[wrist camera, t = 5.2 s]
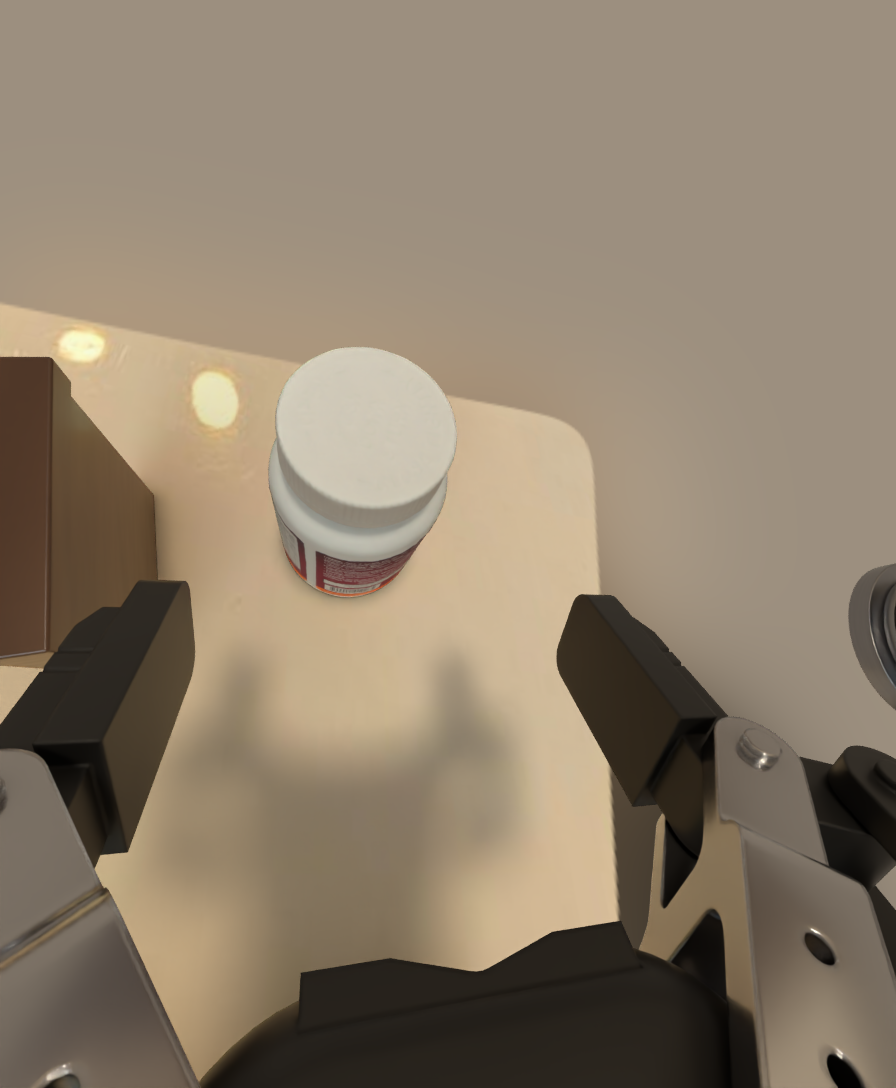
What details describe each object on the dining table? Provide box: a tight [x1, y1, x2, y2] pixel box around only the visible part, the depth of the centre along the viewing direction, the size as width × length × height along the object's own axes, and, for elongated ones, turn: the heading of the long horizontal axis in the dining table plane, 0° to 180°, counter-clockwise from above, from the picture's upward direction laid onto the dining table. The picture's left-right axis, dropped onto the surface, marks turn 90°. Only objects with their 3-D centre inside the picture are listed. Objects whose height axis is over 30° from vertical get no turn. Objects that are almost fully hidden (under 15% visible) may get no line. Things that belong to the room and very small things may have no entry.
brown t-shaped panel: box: [0, 357, 157, 669], centre depth 16 cm, size 2×8×10 cm, turn 11°
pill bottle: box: [268, 347, 457, 597], centre depth 19 cm, size 6×6×11 cm
